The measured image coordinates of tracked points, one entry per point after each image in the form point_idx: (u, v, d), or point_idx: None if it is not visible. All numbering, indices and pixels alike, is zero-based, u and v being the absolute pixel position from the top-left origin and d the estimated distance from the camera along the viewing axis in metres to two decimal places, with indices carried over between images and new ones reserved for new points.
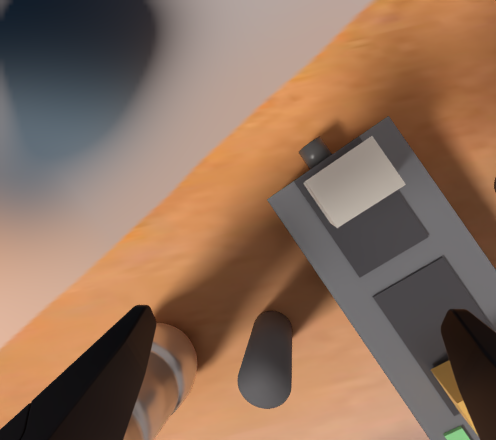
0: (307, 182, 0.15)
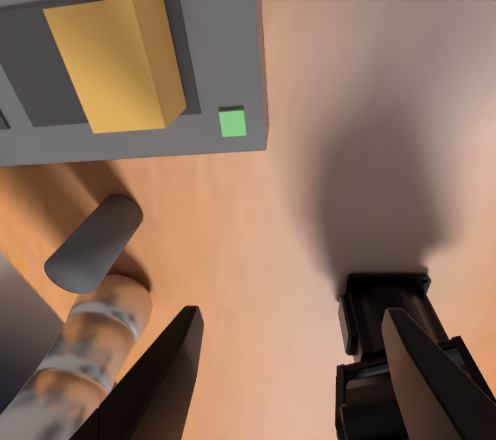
0: None
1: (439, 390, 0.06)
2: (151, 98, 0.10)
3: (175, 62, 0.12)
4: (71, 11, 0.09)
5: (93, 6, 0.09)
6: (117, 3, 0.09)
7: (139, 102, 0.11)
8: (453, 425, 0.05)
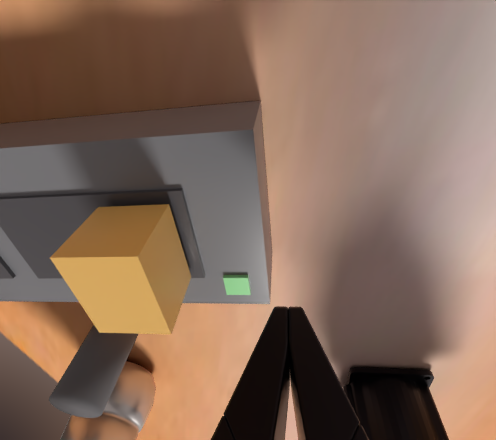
0: None
1: (302, 383, 0.06)
2: (157, 316, 0.11)
3: (180, 248, 0.12)
4: (78, 260, 0.09)
5: (100, 260, 0.09)
6: (124, 260, 0.09)
7: (145, 317, 0.11)
8: (303, 415, 0.06)
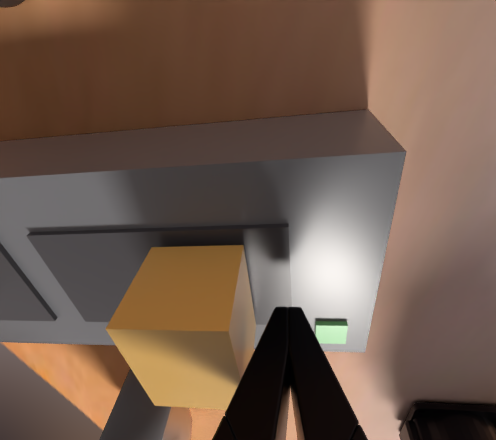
0: None
1: (301, 383, 0.06)
2: None
3: (250, 295, 0.10)
4: (144, 333, 0.07)
5: (175, 333, 0.07)
6: (208, 335, 0.07)
7: (219, 394, 0.08)
8: (302, 415, 0.06)
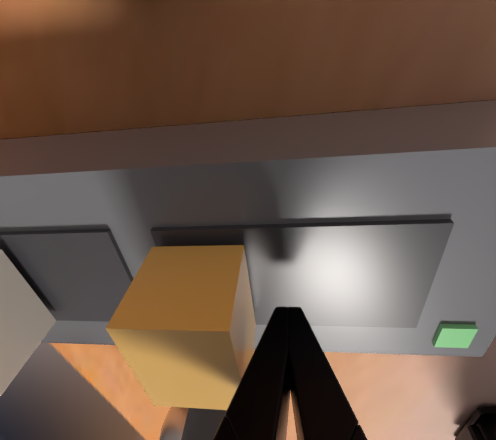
0: None
1: (301, 383, 0.06)
2: None
3: (250, 295, 0.10)
4: (144, 333, 0.07)
5: (175, 333, 0.07)
6: (209, 334, 0.07)
7: (219, 394, 0.08)
8: (301, 415, 0.06)
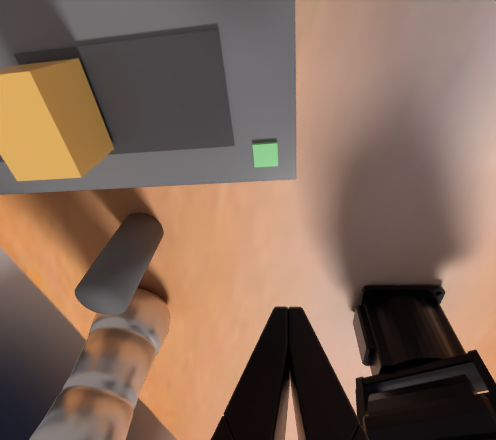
0: None
1: (302, 383, 0.06)
2: (64, 153, 0.11)
3: (96, 111, 0.13)
4: None
5: None
6: (18, 76, 0.10)
7: (53, 156, 0.12)
8: (303, 415, 0.06)
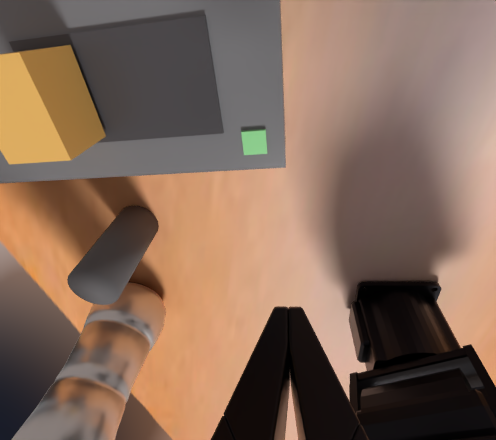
0: None
1: (302, 383, 0.06)
2: (53, 135, 0.12)
3: (88, 97, 0.14)
4: None
5: None
6: (8, 57, 0.10)
7: (43, 138, 0.12)
8: (303, 415, 0.06)
